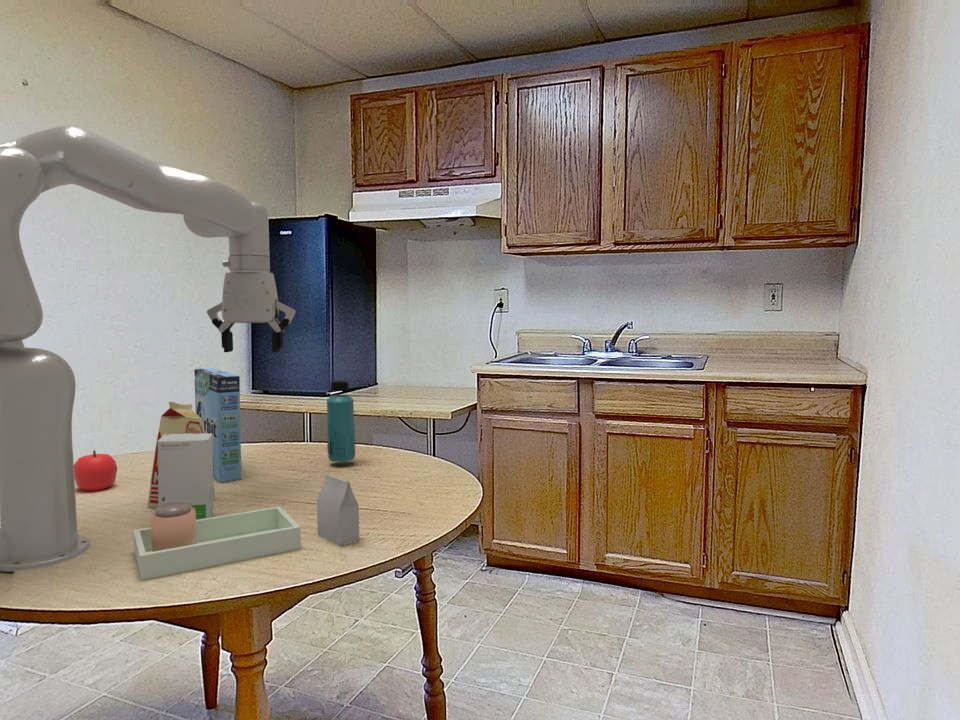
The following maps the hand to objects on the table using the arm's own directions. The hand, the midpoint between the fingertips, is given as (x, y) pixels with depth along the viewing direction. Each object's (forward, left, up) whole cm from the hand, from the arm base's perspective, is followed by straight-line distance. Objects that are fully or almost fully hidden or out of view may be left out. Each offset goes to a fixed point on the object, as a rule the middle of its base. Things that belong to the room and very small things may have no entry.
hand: (252, 351), depth 132 cm
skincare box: (-15, -15, -29) cm, 36 cm away
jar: (-19, -32, -28) cm, 46 cm away
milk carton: (-14, -1, -29) cm, 32 cm away
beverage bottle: (+22, +11, -29) cm, 38 cm away
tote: (-13, -32, -28) cm, 45 cm away
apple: (-28, +19, -29) cm, 44 cm away
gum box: (-4, +19, -29) cm, 35 cm away
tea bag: (+5, -35, -29) cm, 45 cm away
